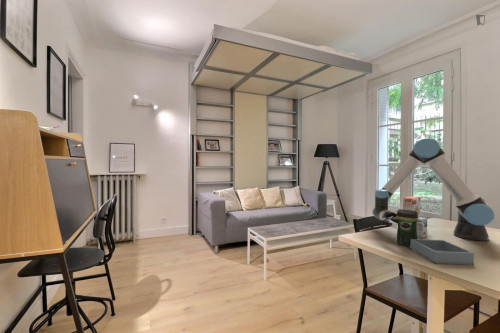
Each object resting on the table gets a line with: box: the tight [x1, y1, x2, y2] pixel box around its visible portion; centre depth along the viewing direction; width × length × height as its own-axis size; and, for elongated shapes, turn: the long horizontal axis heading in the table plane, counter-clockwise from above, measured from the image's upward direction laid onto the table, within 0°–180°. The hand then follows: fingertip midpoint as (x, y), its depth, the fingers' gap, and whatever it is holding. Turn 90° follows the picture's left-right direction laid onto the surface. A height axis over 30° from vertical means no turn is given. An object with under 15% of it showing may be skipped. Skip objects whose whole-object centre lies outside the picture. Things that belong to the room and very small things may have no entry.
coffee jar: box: [395, 208, 419, 248], centre depth 125 cm, size 10×8×19 cm
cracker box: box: [402, 195, 421, 217], centre depth 157 cm, size 14×6×21 cm, turn 127°
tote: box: [409, 238, 475, 266], centre depth 110 cm, size 16×18×5 cm
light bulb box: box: [417, 216, 428, 238], centre depth 144 cm, size 11×7×11 cm, turn 34°
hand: (409, 226), depth 122 cm, fingers open, 13 cm apart
